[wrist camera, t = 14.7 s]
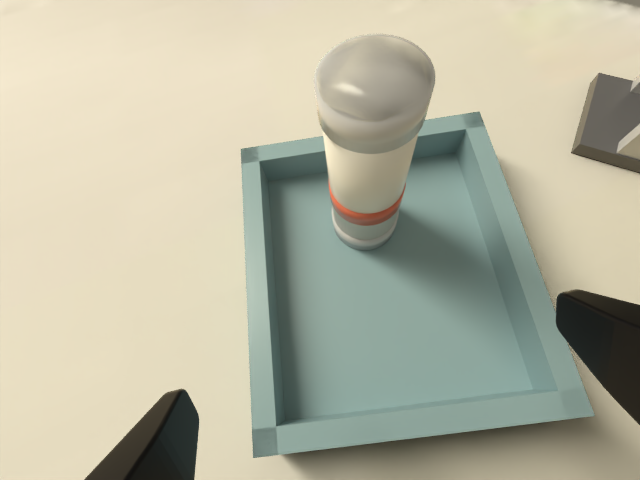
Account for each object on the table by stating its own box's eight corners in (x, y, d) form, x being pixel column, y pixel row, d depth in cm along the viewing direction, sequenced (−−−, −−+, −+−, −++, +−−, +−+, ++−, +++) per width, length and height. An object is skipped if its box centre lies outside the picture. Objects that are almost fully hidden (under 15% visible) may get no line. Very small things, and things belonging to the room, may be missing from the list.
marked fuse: (408, 218, 23) (460, 69, 12) (366, 263, 22) (379, 146, 11) (361, 183, 24) (367, 18, 13) (320, 223, 23) (289, 83, 12)
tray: (553, 409, 19) (595, 416, 16) (269, 444, 20) (253, 457, 16) (463, 144, 26) (479, 111, 23) (254, 176, 26) (240, 149, 23)
